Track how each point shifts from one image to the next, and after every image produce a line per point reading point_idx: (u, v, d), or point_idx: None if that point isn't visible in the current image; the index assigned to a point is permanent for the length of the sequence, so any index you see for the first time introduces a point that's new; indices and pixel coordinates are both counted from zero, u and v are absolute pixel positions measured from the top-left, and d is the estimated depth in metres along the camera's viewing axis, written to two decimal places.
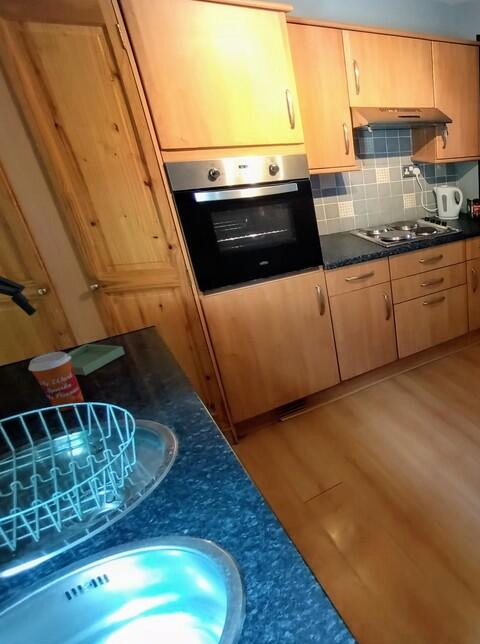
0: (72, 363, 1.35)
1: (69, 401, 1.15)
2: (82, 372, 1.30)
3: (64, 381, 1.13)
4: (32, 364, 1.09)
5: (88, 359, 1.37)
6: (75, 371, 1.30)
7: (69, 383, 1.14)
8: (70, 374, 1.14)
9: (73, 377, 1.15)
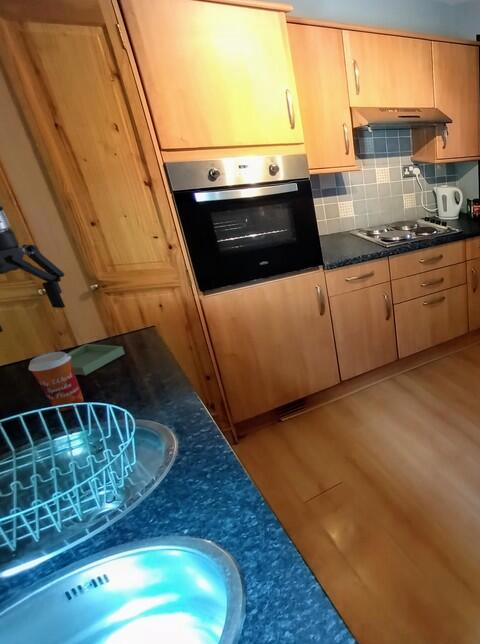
0: (72, 363, 1.35)
1: (69, 401, 1.15)
2: (82, 372, 1.30)
3: (64, 381, 1.13)
4: (32, 364, 1.09)
5: (88, 359, 1.37)
6: (75, 371, 1.30)
7: (69, 383, 1.14)
8: (70, 374, 1.14)
9: (73, 377, 1.15)
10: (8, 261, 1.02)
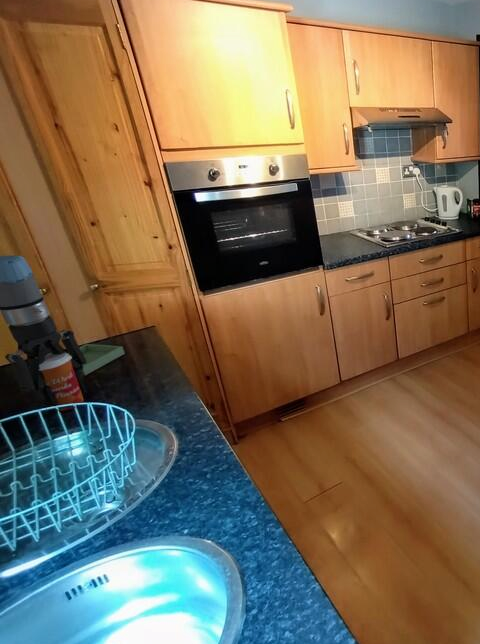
0: None
1: (69, 401, 1.15)
2: (82, 372, 1.30)
3: (64, 380, 1.13)
4: None
5: (88, 359, 1.37)
6: None
7: (69, 382, 1.14)
8: (71, 374, 1.14)
9: (73, 377, 1.15)
10: (47, 345, 1.11)
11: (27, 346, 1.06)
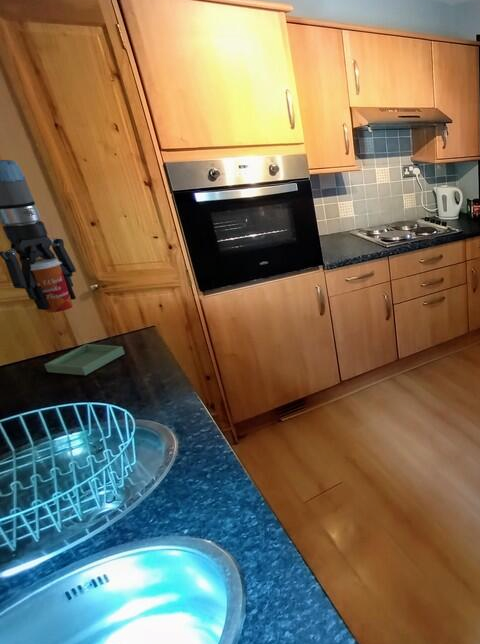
0: (72, 363, 1.35)
1: (59, 303, 1.24)
2: (82, 372, 1.30)
3: (54, 283, 1.22)
4: None
5: (88, 359, 1.37)
6: (75, 371, 1.30)
7: (59, 285, 1.23)
8: (61, 278, 1.24)
9: (63, 281, 1.24)
10: (38, 248, 1.20)
11: (19, 245, 1.16)
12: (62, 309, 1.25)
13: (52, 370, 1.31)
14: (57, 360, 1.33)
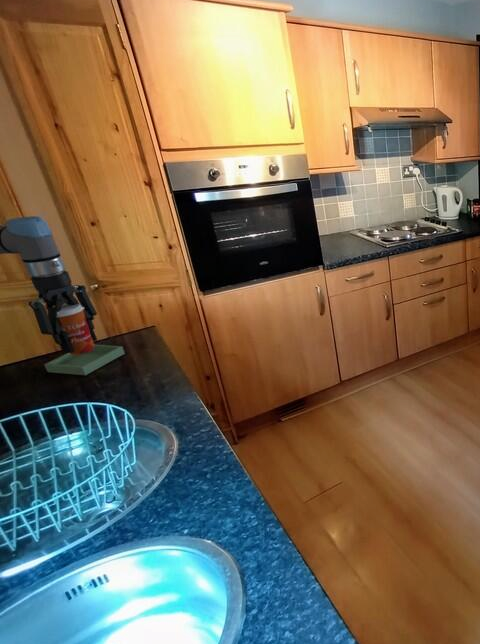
0: (72, 363, 1.35)
1: (82, 346, 1.32)
2: (82, 372, 1.30)
3: (78, 327, 1.30)
4: None
5: (88, 359, 1.37)
6: (75, 371, 1.30)
7: (82, 330, 1.32)
8: (84, 322, 1.32)
9: (86, 325, 1.33)
10: (63, 296, 1.28)
11: (46, 295, 1.24)
12: (85, 351, 1.33)
13: (52, 370, 1.31)
14: (57, 360, 1.33)
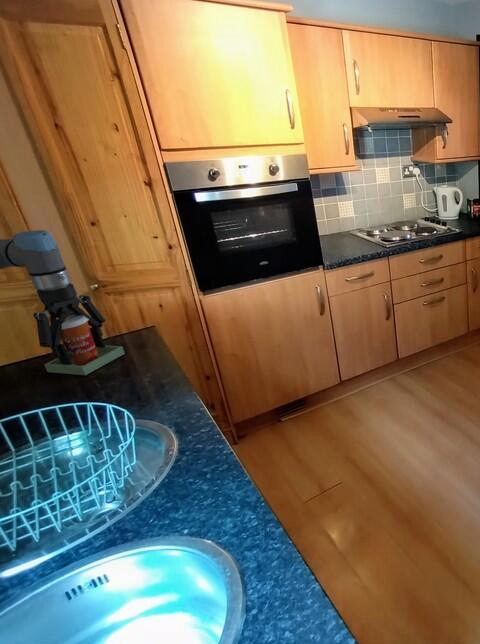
0: (72, 363, 1.35)
1: (87, 357, 1.34)
2: (82, 372, 1.30)
3: (82, 339, 1.32)
4: None
5: None
6: (75, 371, 1.30)
7: (87, 341, 1.33)
8: (88, 333, 1.33)
9: (90, 336, 1.34)
10: (69, 308, 1.30)
11: (52, 308, 1.25)
12: None
13: (52, 370, 1.31)
14: (57, 360, 1.33)
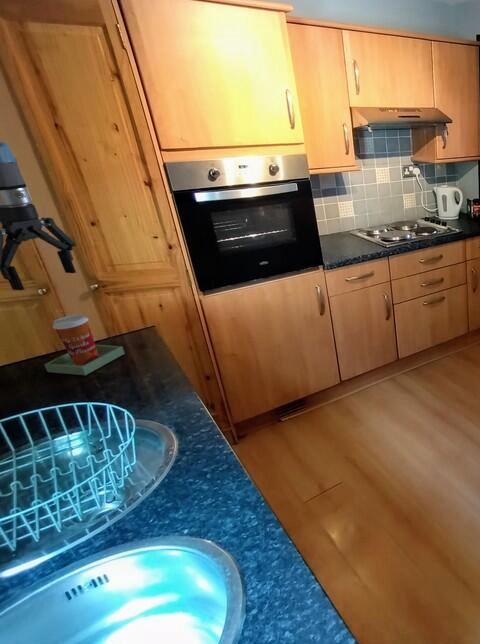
0: (72, 363, 1.35)
1: (87, 357, 1.34)
2: (82, 372, 1.30)
3: (82, 339, 1.32)
4: (56, 323, 1.28)
5: None
6: (75, 371, 1.30)
7: (87, 341, 1.33)
8: (88, 333, 1.33)
9: (90, 336, 1.34)
10: (29, 230, 1.21)
11: (10, 227, 1.17)
12: None
13: (52, 370, 1.31)
14: (57, 360, 1.33)
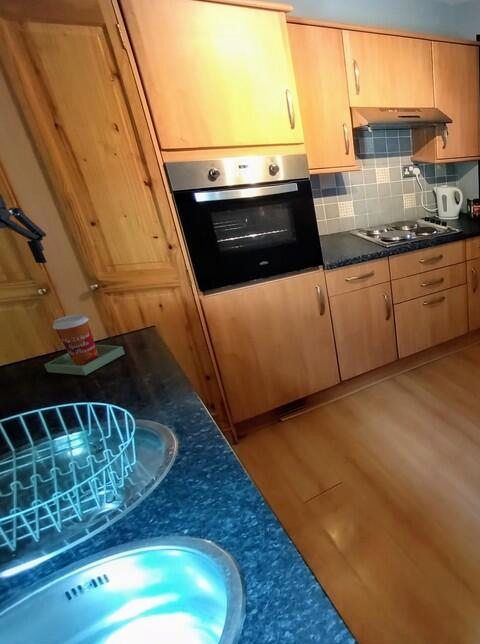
0: (72, 363, 1.35)
1: (87, 357, 1.34)
2: (82, 372, 1.30)
3: (82, 339, 1.32)
4: (56, 323, 1.28)
5: None
6: (75, 371, 1.30)
7: (87, 341, 1.33)
8: (88, 333, 1.33)
9: (90, 336, 1.34)
10: None
11: None
12: None
13: (52, 370, 1.31)
14: (57, 360, 1.33)
